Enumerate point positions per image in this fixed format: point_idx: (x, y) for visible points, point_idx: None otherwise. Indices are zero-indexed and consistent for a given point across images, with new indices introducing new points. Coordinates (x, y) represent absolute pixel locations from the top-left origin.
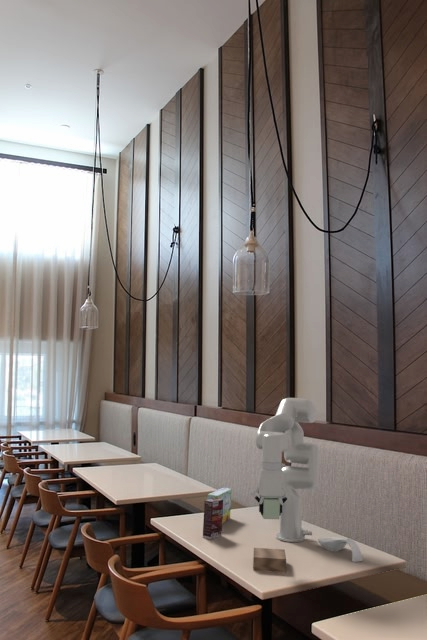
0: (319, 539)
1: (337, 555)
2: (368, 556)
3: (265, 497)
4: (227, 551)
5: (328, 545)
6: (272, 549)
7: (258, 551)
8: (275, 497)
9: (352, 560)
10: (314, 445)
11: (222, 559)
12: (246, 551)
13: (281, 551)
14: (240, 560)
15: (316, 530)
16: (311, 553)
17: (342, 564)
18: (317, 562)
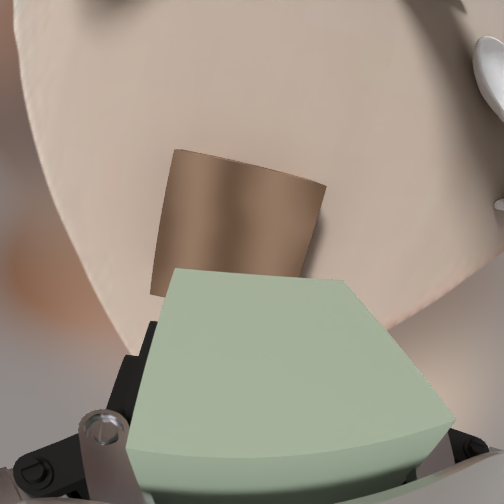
0: (480, 46)
1: (486, 141)
2: None
3: (199, 496)
4: (100, 48)
5: (490, 103)
6: (266, 182)
7: (185, 213)
8: (404, 456)
9: (495, 207)
10: None
11: (63, 151)
12: (180, 39)
13: (301, 215)
14: (126, 157)
15: None
16: (432, 100)
17: (468, 223)
18: (419, 197)
